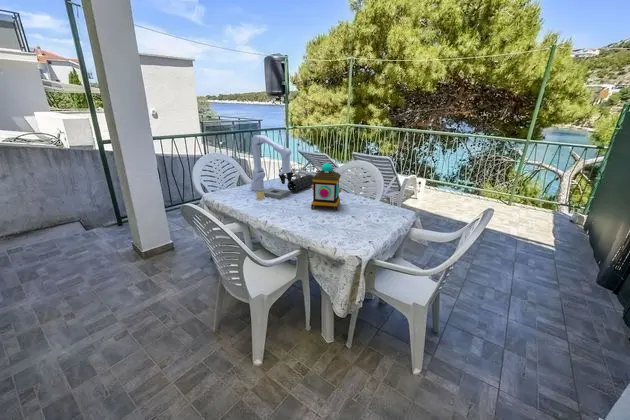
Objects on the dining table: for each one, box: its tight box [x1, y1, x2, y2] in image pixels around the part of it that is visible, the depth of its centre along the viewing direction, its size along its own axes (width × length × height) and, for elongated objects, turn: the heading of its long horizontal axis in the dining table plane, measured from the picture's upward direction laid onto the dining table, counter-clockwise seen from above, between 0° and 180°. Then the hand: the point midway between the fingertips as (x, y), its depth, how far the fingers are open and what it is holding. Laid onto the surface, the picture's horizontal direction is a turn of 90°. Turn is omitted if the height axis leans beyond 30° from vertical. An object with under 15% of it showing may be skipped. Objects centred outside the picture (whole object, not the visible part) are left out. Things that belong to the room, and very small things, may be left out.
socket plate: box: [264, 187, 291, 200], centre depth 212 cm, size 18×14×3 cm
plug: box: [255, 189, 265, 201], centre depth 202 cm, size 4×4×7 cm
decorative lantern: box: [310, 162, 342, 212], centre depth 185 cm, size 20×20×30 cm
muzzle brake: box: [286, 173, 315, 193], centre depth 228 cm, size 10×28×10 cm, turn 147°
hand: (286, 182), depth 209 cm, fingers open, 7 cm apart
